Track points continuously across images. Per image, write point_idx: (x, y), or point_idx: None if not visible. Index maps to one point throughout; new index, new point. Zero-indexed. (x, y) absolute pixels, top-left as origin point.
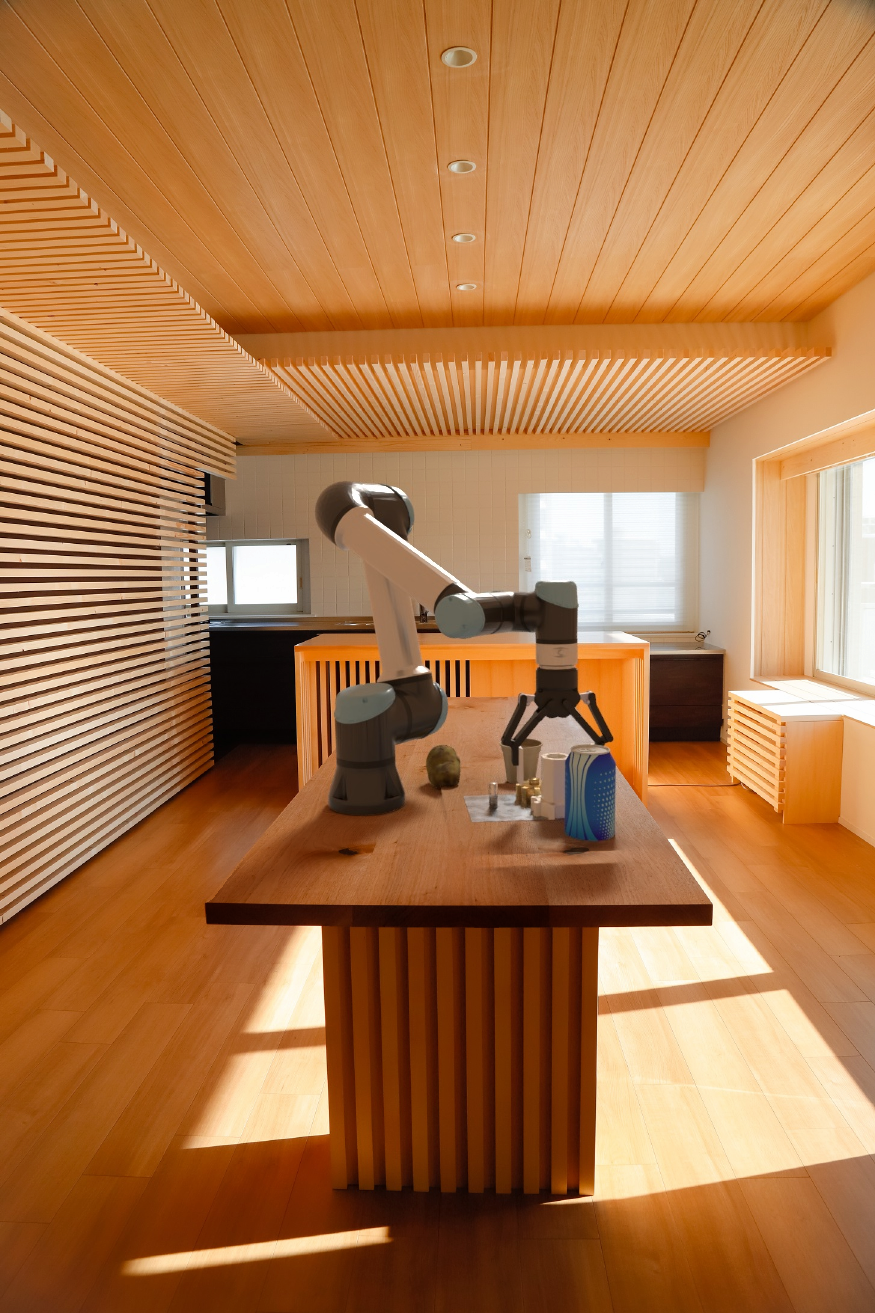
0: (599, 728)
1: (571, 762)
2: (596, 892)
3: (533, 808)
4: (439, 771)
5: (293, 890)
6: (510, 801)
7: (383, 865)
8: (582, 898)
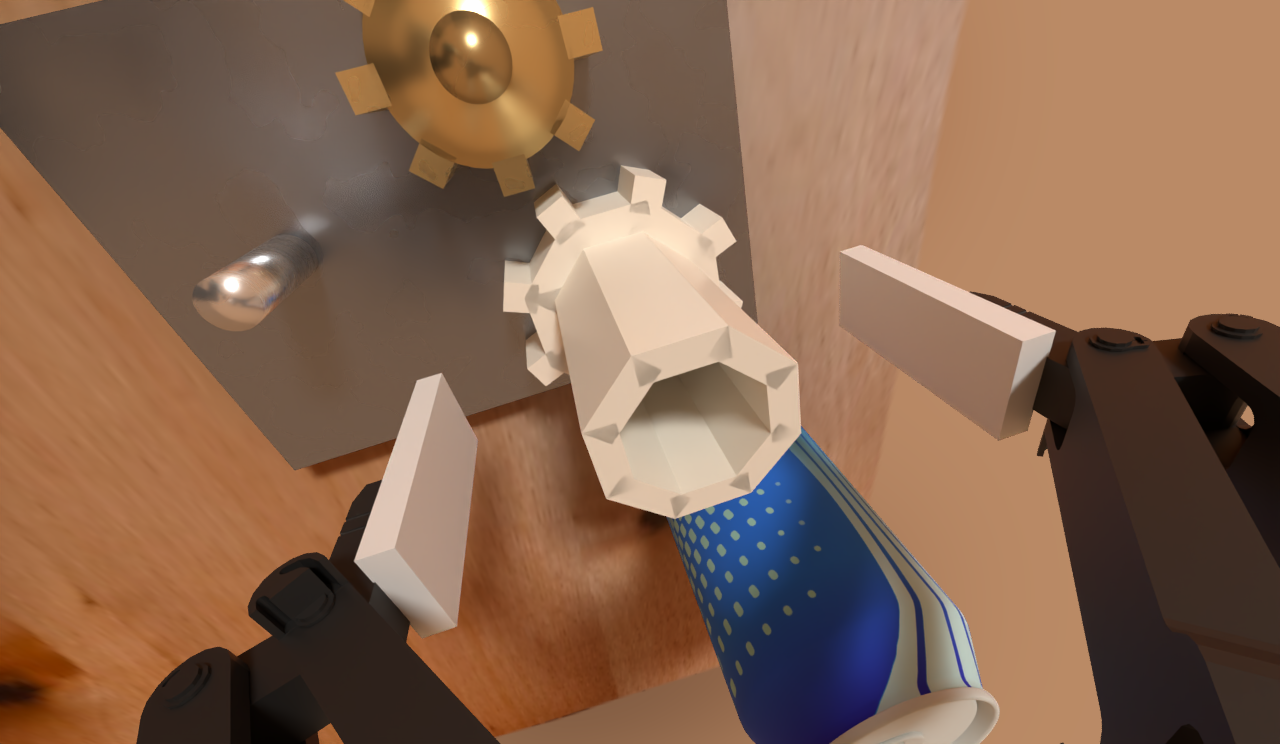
0: (1271, 420)
1: None
2: (697, 646)
3: (527, 355)
4: None
5: None
6: (350, 142)
7: None
8: (672, 667)
